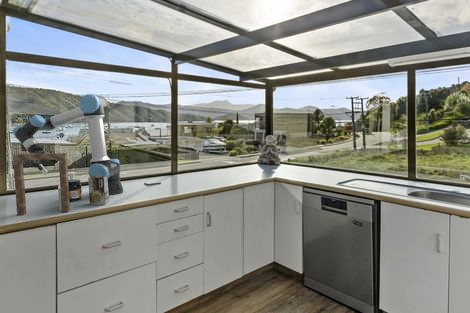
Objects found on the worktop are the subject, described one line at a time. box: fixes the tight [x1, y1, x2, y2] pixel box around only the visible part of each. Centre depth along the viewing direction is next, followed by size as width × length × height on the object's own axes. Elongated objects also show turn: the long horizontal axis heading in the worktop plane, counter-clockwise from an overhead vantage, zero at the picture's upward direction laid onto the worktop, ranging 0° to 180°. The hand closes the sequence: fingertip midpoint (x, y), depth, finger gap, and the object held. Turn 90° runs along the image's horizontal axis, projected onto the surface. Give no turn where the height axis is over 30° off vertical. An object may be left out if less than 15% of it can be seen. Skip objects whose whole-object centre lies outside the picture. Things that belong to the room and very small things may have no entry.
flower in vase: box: [67, 156, 76, 180], centre depth 203 cm, size 13×11×25 cm
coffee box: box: [87, 176, 110, 206], centre depth 176 cm, size 9×6×16 cm
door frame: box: [12, 152, 71, 216], centre depth 156 cm, size 24×3×31 cm, turn 104°
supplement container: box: [68, 178, 83, 203], centre depth 185 cm, size 10×10×12 cm
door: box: [57, 183, 62, 212], centre depth 166 cm, size 15×3×12 cm, turn 29°
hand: (55, 171), depth 186 cm, fingers open, 13 cm apart
